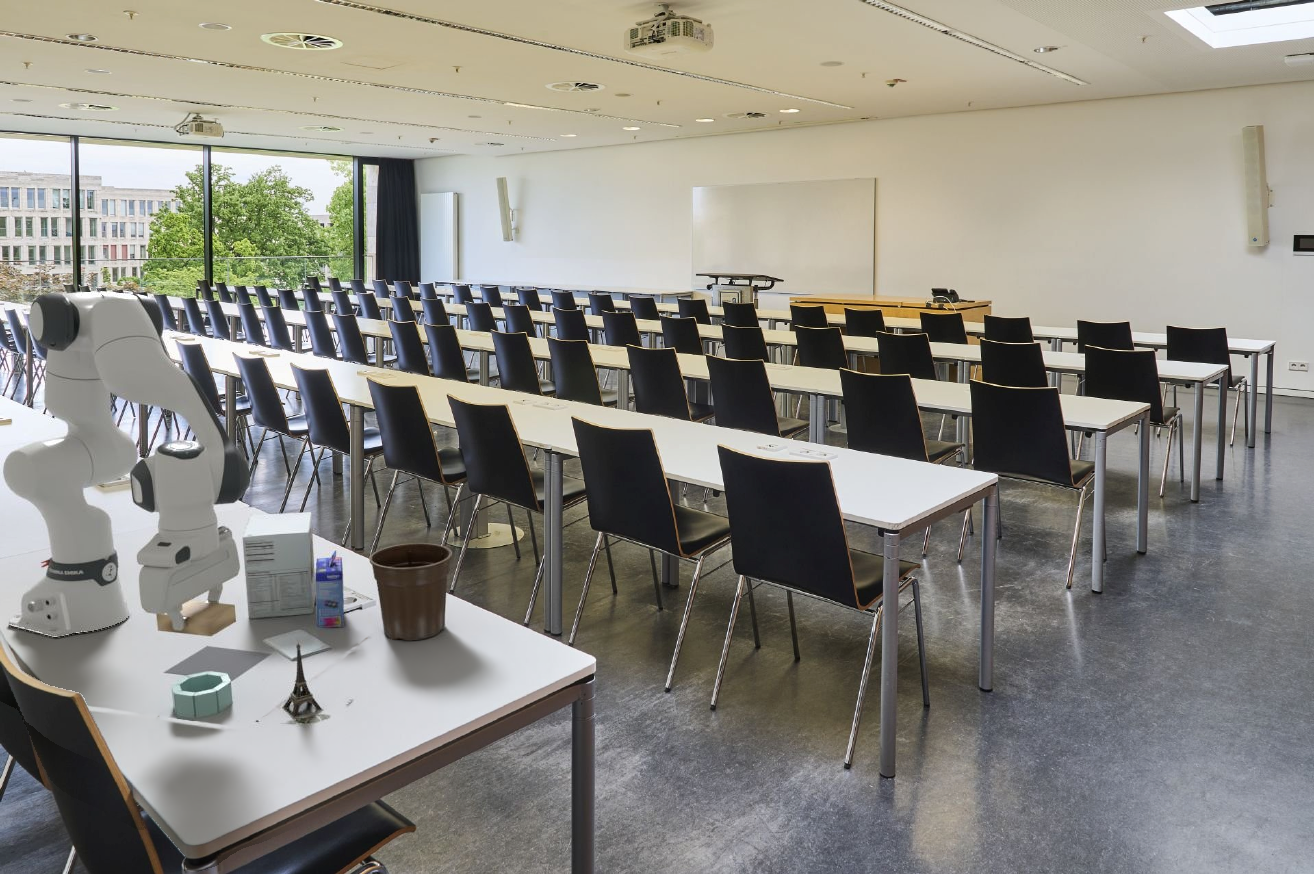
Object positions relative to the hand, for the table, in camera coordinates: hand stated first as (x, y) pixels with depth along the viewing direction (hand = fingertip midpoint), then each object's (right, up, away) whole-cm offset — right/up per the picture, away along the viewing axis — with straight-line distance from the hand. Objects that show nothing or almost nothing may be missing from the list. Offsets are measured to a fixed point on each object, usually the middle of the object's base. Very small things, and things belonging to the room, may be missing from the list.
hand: (196, 619), depth 165 cm
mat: (-5, -12, +19) cm, 23 cm away
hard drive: (+7, -11, +28) cm, 31 cm away
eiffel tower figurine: (+16, -17, +3) cm, 23 cm away
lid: (0, -1, 0) cm, 1 cm away
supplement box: (-5, -6, +51) cm, 51 cm away
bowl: (0, -16, +3) cm, 16 cm away
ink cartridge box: (+9, -8, +42) cm, 43 cm away
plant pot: (+27, -9, +37) cm, 47 cm away
